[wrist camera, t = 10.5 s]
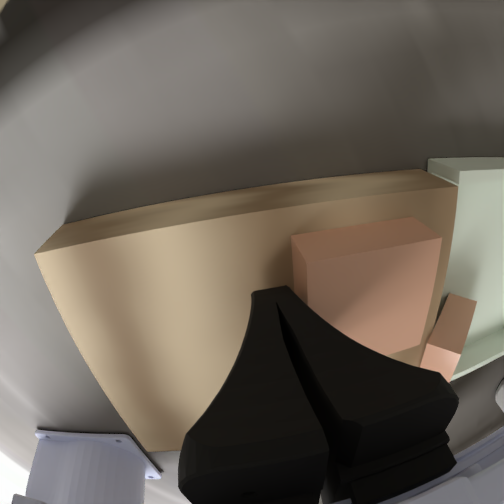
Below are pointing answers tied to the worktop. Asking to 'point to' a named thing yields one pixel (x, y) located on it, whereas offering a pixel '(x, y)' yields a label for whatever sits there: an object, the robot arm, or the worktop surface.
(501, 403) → the water bottle
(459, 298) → the tile
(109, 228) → the board
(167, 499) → the worktop surface
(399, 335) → the tile
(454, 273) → the tray
